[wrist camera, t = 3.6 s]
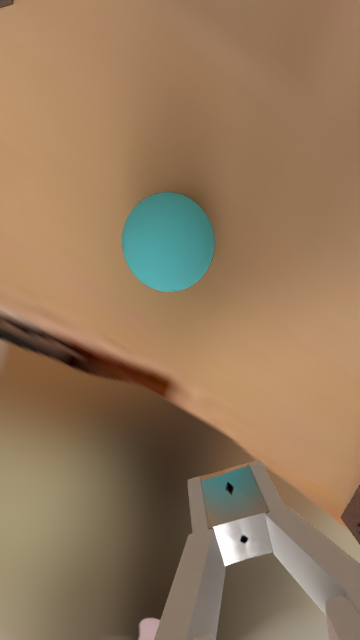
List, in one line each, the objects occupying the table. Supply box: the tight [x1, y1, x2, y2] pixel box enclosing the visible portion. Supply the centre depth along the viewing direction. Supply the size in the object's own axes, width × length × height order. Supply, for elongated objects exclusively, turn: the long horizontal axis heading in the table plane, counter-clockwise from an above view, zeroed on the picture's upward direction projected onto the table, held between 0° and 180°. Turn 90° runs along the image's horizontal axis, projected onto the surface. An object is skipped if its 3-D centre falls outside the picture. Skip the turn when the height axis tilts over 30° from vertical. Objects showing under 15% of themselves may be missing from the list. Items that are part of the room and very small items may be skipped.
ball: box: [122, 192, 215, 292], centre depth 13 cm, size 6×6×6 cm
